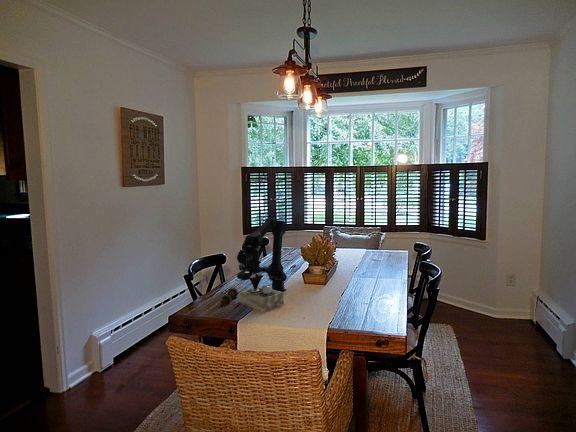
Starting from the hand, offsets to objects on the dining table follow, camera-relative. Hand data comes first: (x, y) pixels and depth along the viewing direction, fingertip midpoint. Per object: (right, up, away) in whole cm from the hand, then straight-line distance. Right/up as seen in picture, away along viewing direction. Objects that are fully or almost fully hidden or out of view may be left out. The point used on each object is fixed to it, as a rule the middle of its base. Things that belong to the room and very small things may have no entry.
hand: (255, 289), depth 216 cm
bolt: (-14, -7, +4) cm, 17 cm away
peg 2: (+6, -3, -6) cm, 9 cm away
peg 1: (0, -6, +1) cm, 6 cm away
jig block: (+3, -7, -3) cm, 8 cm away
